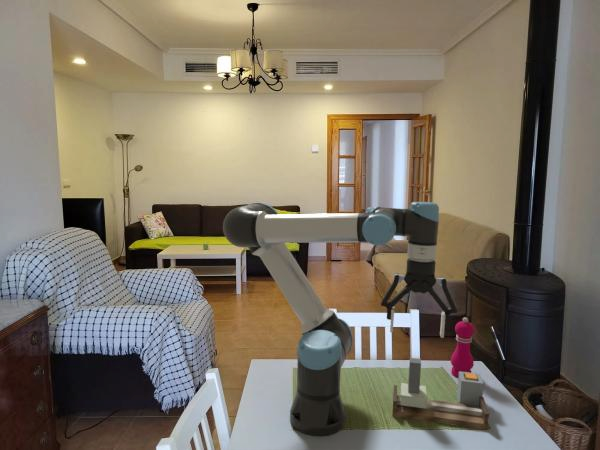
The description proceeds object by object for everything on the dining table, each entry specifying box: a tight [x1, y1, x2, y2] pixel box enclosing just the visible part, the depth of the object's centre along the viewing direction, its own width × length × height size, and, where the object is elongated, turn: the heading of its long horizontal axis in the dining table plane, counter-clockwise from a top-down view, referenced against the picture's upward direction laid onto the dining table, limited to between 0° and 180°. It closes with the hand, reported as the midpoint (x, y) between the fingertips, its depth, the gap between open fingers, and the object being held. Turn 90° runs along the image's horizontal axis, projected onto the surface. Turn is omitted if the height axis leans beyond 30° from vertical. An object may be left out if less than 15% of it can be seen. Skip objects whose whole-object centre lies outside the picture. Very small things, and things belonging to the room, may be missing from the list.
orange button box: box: [456, 371, 484, 406], centre depth 130 cm, size 6×6×8 cm
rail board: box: [391, 384, 490, 430], centre depth 125 cm, size 25×9×4 cm, turn 77°
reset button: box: [465, 372, 477, 381], centre depth 130 cm, size 3×3×6 cm
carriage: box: [400, 357, 428, 409], centre depth 125 cm, size 7×7×12 cm
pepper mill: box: [450, 317, 475, 378], centre depth 147 cm, size 7×7×20 cm
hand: (416, 333), depth 123 cm, fingers open, 13 cm apart
